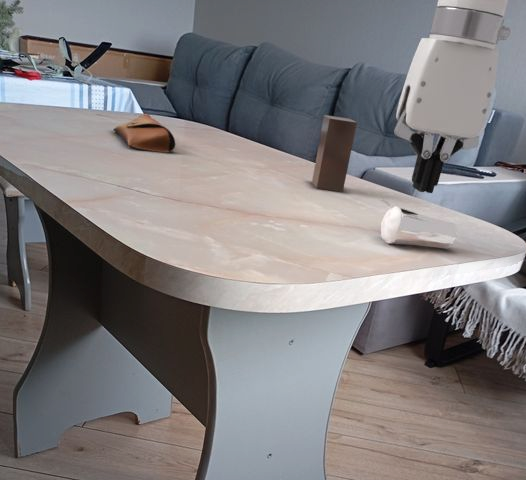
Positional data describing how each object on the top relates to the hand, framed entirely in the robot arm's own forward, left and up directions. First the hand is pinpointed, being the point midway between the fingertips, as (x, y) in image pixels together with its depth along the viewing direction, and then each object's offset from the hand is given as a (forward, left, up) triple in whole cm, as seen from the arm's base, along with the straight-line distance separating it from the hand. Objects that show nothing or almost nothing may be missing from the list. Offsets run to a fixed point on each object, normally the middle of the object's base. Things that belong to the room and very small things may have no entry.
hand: (422, 189), depth 79 cm
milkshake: (-4, +3, -4) cm, 7 cm away
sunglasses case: (+38, -46, -7) cm, 60 cm away
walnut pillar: (+6, -26, -6) cm, 27 cm away
